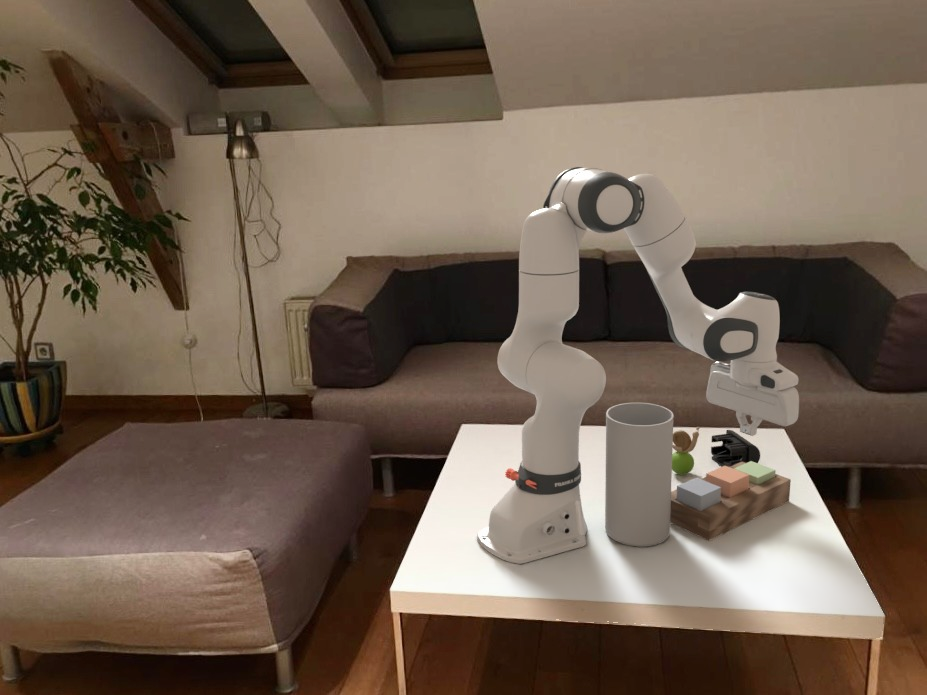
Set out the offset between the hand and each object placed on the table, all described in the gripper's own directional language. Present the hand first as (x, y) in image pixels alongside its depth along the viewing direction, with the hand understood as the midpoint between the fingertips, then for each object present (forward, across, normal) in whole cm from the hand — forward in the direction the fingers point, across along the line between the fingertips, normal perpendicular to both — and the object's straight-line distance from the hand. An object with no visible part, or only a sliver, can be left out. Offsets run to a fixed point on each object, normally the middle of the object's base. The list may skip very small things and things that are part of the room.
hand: (747, 433), depth 173 cm
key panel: (+14, +2, -8) cm, 16 cm away
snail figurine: (+15, -16, -1) cm, 21 cm away
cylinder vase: (+15, -3, -29) cm, 33 cm away
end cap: (+14, -12, +12) cm, 22 cm away
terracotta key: (+10, +1, -8) cm, 13 cm away
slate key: (+11, +2, -17) cm, 20 cm away
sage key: (+12, +1, +1) cm, 12 cm away
